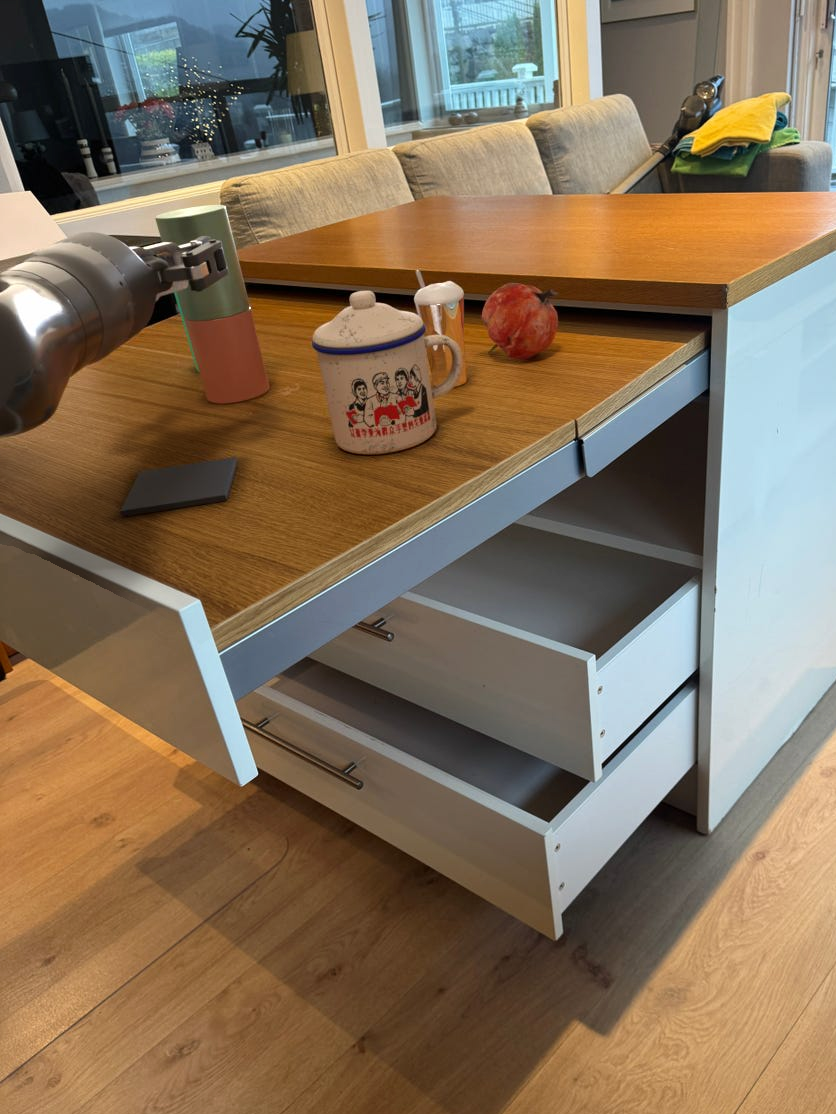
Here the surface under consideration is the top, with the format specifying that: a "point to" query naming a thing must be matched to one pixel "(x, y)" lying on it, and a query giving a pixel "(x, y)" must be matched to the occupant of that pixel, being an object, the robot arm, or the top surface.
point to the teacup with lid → (380, 376)
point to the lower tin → (229, 358)
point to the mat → (180, 486)
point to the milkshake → (442, 325)
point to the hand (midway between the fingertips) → (160, 255)
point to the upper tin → (229, 290)
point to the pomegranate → (520, 320)
